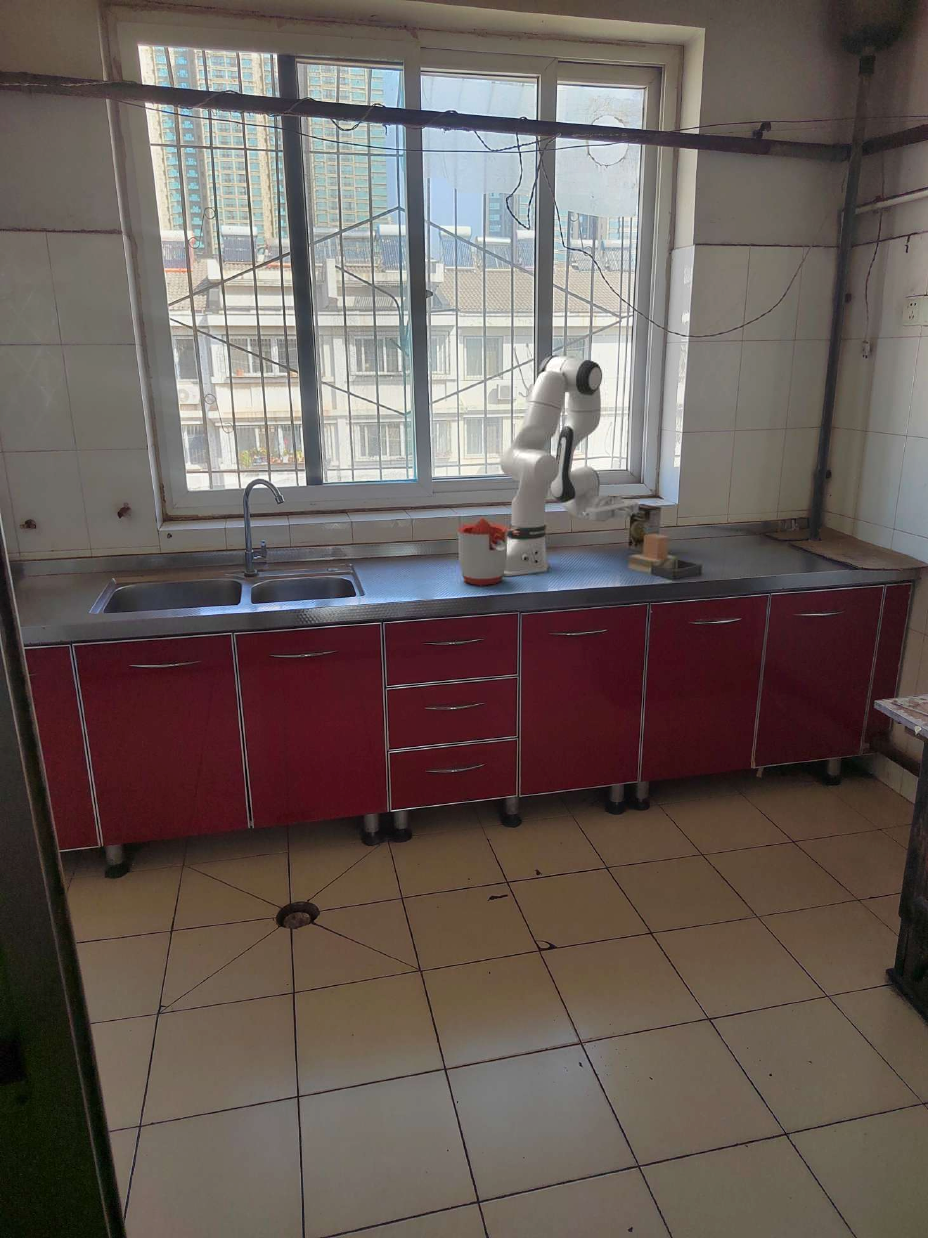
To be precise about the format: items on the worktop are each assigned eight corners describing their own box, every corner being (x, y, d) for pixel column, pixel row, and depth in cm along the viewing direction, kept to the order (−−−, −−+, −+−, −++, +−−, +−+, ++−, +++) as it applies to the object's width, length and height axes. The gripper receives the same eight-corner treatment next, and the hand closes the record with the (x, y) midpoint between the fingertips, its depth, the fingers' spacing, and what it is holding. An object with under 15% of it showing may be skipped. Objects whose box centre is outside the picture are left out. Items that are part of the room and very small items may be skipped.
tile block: (656, 559, 262) (658, 538, 260) (642, 556, 267) (644, 535, 264) (667, 557, 265) (668, 536, 262) (653, 554, 269) (654, 533, 267)
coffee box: (627, 549, 294) (629, 505, 289) (639, 546, 298) (641, 503, 293) (646, 553, 287) (649, 508, 282) (658, 551, 291) (661, 506, 286)
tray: (673, 580, 252) (674, 571, 251) (650, 574, 260) (651, 565, 259) (701, 574, 259) (701, 564, 258) (678, 568, 267) (678, 559, 266)
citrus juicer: (481, 592, 243) (481, 526, 237) (448, 580, 257) (447, 517, 250) (521, 583, 252) (522, 519, 246) (487, 572, 265) (487, 511, 259)
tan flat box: (650, 573, 260) (651, 561, 259) (628, 567, 268) (628, 556, 267) (676, 568, 267) (676, 556, 266) (653, 562, 275) (653, 551, 274)
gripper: (578, 503, 277) (606, 509, 266) (621, 495, 287) (650, 500, 277) (578, 521, 279) (606, 528, 268) (620, 513, 289) (649, 518, 279)
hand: (629, 514), depth 272 cm, fingers closed
